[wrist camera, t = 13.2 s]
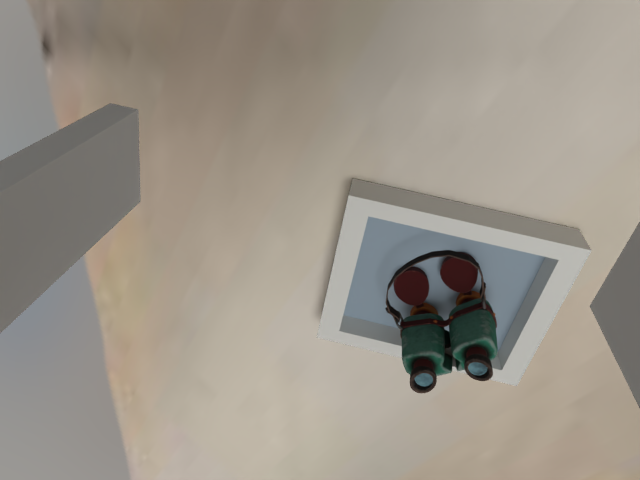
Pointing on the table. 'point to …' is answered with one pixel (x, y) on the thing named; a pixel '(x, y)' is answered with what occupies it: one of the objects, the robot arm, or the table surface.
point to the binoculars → (444, 322)
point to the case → (436, 235)
